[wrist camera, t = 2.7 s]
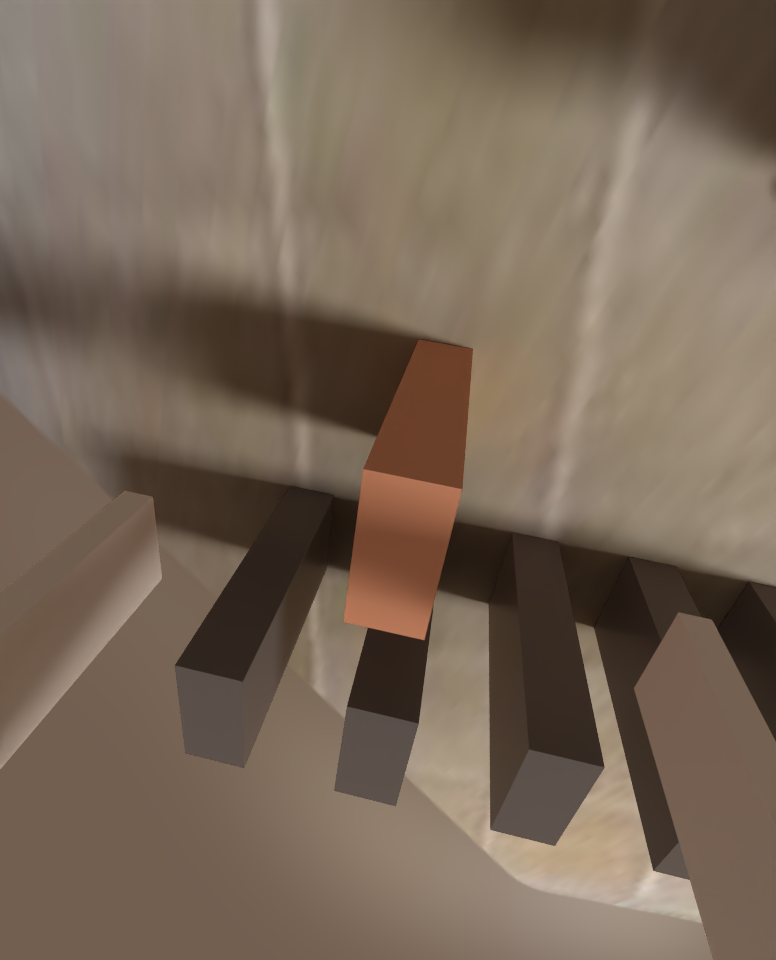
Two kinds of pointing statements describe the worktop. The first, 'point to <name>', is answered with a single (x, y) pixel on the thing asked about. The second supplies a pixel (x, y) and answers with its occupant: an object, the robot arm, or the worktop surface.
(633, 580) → the domino
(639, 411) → the worktop surface
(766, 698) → the domino
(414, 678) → the domino
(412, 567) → the domino
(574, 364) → the worktop surface
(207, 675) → the domino
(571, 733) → the domino
